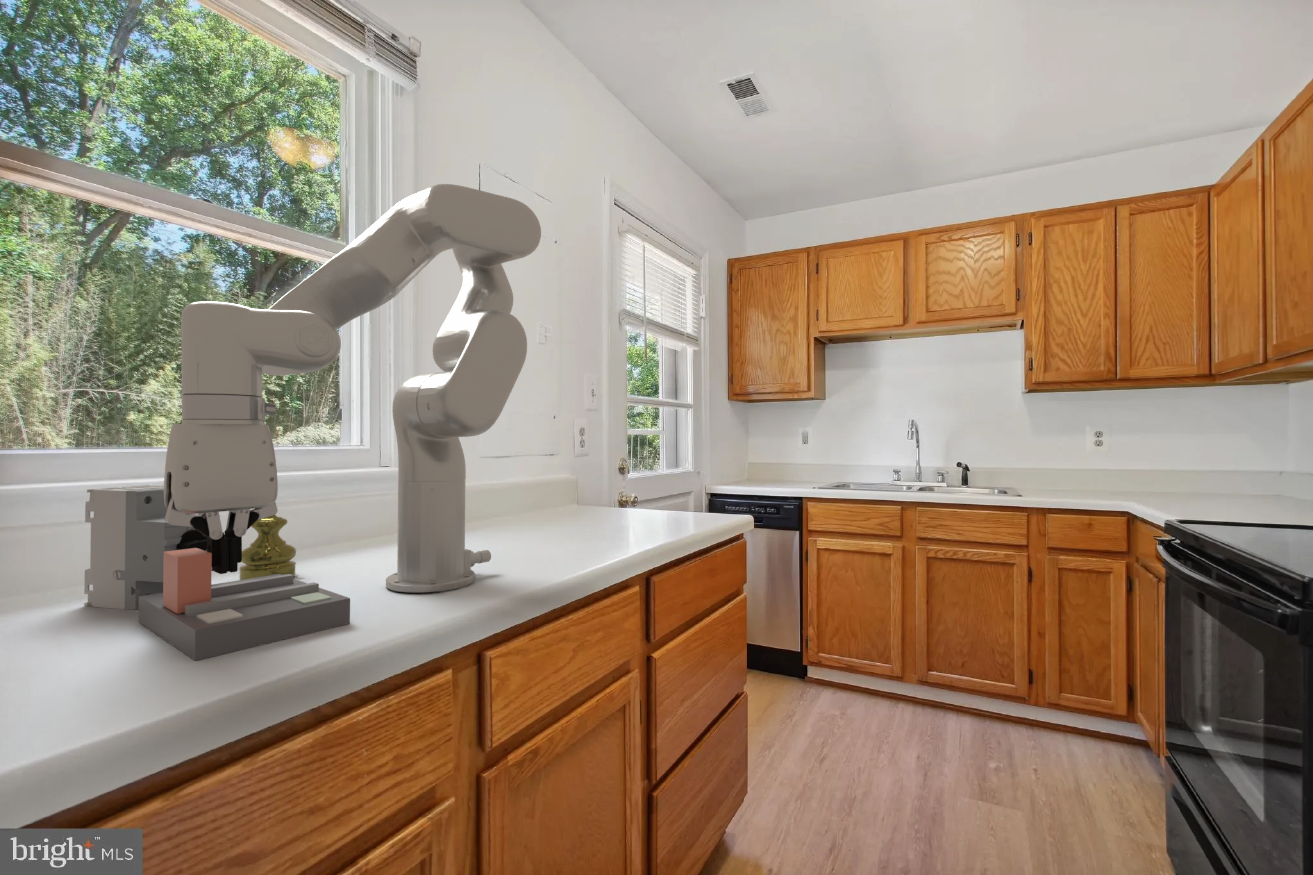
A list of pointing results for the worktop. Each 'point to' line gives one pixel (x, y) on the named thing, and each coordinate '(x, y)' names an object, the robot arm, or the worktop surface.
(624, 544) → the worktop surface
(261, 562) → the brass knob
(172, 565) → the handle
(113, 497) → the circuit breaker
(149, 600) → the breaker panel
